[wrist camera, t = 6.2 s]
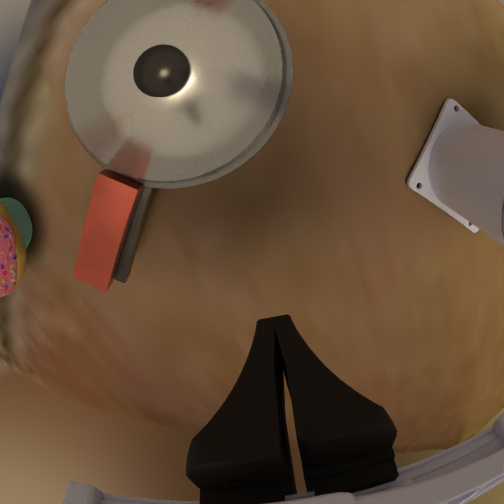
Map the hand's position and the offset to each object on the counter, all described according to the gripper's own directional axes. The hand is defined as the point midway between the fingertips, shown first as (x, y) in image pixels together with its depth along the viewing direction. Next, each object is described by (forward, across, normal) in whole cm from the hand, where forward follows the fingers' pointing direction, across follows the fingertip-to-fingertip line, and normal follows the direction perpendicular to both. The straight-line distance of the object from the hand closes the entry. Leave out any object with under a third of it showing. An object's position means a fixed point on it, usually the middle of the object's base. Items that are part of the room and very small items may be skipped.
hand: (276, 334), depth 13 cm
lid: (+6, +4, -10) cm, 13 cm away
